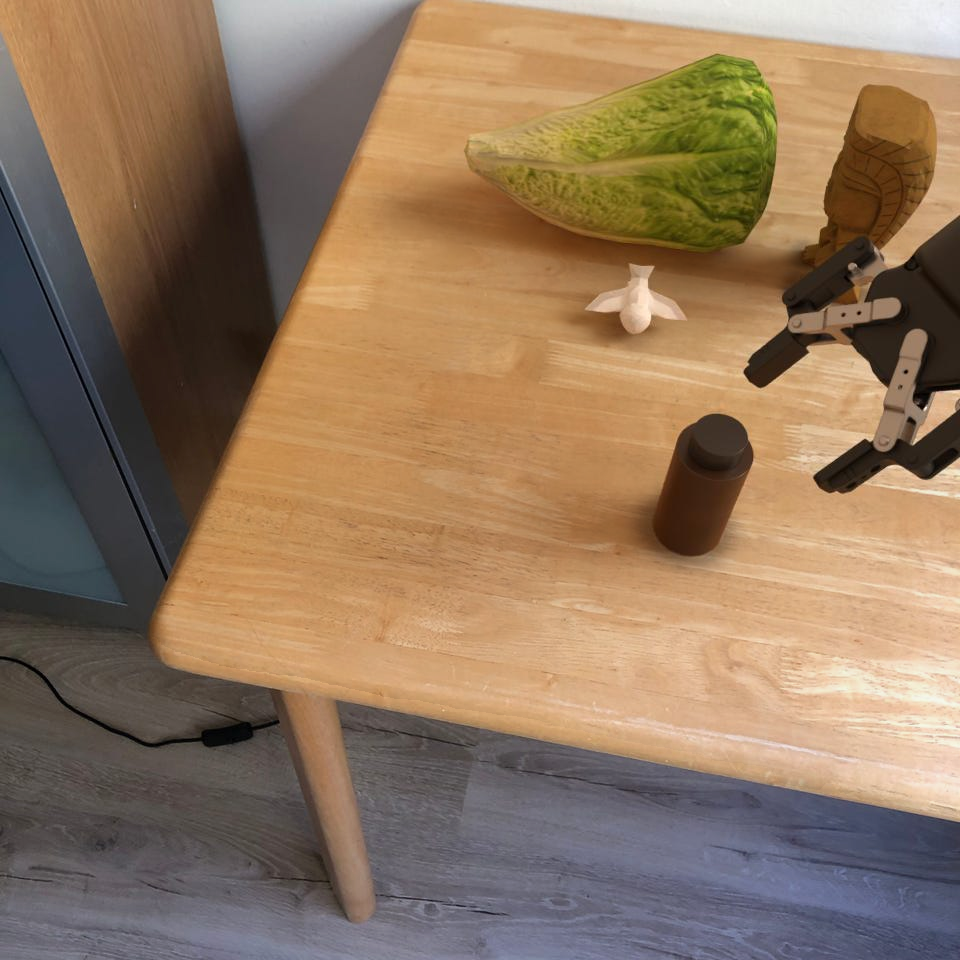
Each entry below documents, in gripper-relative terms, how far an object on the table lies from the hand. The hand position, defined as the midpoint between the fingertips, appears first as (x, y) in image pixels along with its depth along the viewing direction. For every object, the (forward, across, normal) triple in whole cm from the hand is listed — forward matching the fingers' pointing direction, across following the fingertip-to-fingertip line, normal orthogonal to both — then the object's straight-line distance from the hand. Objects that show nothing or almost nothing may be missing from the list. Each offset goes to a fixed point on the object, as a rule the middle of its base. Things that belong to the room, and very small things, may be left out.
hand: (784, 431), depth 59 cm
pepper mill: (+9, 0, +2) cm, 10 cm away
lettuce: (+4, -31, +8) cm, 32 cm away
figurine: (-6, -18, +18) cm, 27 cm away
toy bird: (+6, -19, +6) cm, 20 cm away
